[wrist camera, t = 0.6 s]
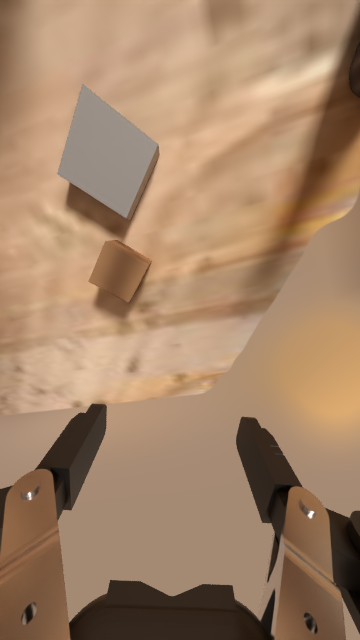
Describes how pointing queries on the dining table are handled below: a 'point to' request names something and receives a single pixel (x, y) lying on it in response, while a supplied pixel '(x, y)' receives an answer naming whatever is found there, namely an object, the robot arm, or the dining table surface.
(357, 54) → the boot
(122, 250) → the walnut cube
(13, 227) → the dining table surface
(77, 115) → the slate block
